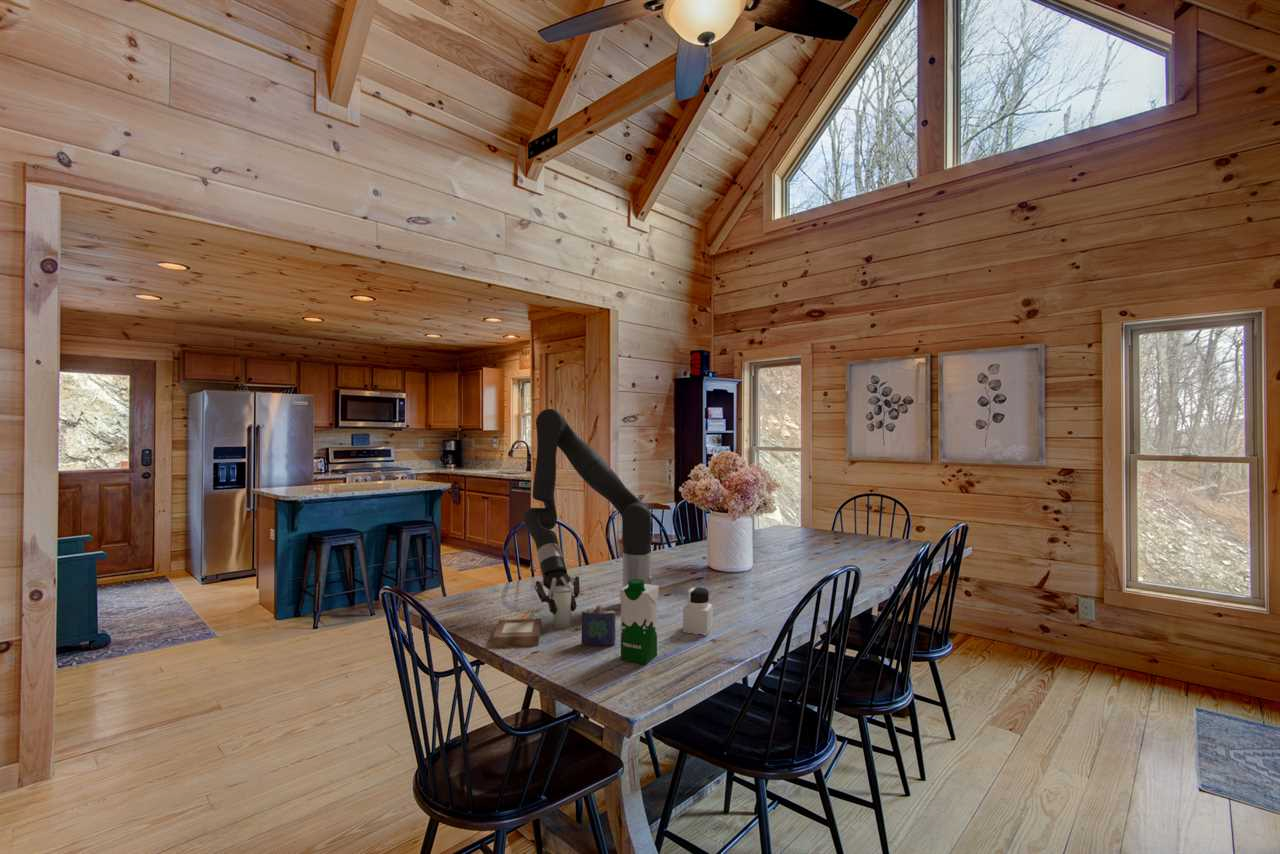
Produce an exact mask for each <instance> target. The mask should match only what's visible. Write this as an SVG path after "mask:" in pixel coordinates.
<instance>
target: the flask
mask: <svg viewBox="0 0 1280 854" xmlns="http://www.w3.org/2000/svg"><path fill="white" fill-rule="evenodd" d="M595 607H596V608H594V609H592V608H587V609H584V610H582V611H581V639H580V640H581V646H583V647H615V645H616V642H617V641H616V615H617V614H616V611H614V610H602V609H601V608H602V604H597V605H596V606H595Z"/></svg>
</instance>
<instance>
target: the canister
mask: <svg viewBox="0 0 1280 854" xmlns="http://www.w3.org/2000/svg"><path fill="white" fill-rule="evenodd" d="M572 589H573V588H572V587H571V585H569V586H556V587H554V588H553V599H554V601H555V606H556V610H557V611H556V614H552V615H553V618H552V619H553V620H552V621H553V622H552V623H553V624H552V625H553V627H554V629H555V628H556V629H559V630H560V629H568V628H571V626H572V611H571V590H572ZM572 591H573V590H572Z"/></svg>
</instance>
